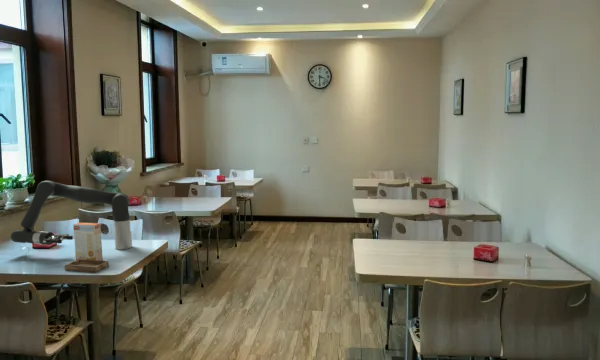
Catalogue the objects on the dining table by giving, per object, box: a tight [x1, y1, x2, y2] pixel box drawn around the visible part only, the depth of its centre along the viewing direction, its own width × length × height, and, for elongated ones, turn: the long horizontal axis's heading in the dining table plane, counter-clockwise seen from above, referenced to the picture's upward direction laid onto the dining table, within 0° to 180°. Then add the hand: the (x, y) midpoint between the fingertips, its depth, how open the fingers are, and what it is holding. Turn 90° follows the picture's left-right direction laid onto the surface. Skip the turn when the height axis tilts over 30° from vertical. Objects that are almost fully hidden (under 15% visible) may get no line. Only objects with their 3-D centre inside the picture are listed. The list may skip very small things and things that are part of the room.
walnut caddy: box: [64, 259, 109, 274], centre depth 265 cm, size 11×19×3 cm, turn 73°
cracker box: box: [72, 222, 104, 261], centre depth 280 cm, size 14×6×21 cm, turn 71°
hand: (66, 239), depth 285 cm, fingers open, 8 cm apart
